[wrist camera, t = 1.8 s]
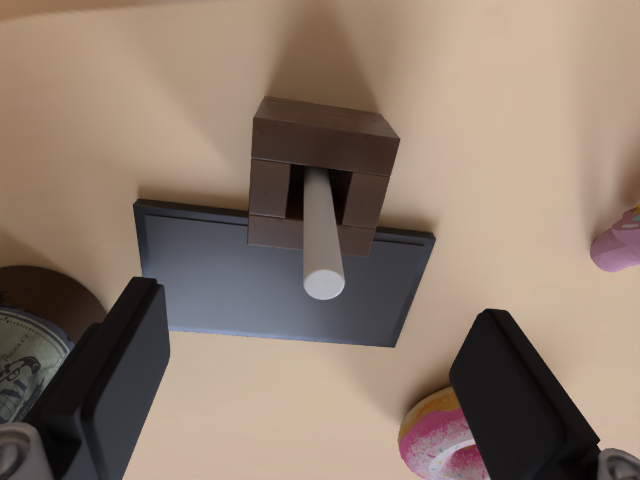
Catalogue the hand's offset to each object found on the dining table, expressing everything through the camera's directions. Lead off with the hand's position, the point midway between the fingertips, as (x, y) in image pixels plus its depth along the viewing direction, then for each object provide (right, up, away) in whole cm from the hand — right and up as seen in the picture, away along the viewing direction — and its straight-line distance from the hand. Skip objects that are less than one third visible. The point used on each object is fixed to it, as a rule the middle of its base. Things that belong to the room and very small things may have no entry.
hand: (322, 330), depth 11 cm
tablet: (-3, 0, +16) cm, 16 cm away
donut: (+15, -15, +27) cm, 34 cm away
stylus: (0, +8, +11) cm, 14 cm away
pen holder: (0, +8, +11) cm, 14 cm away
